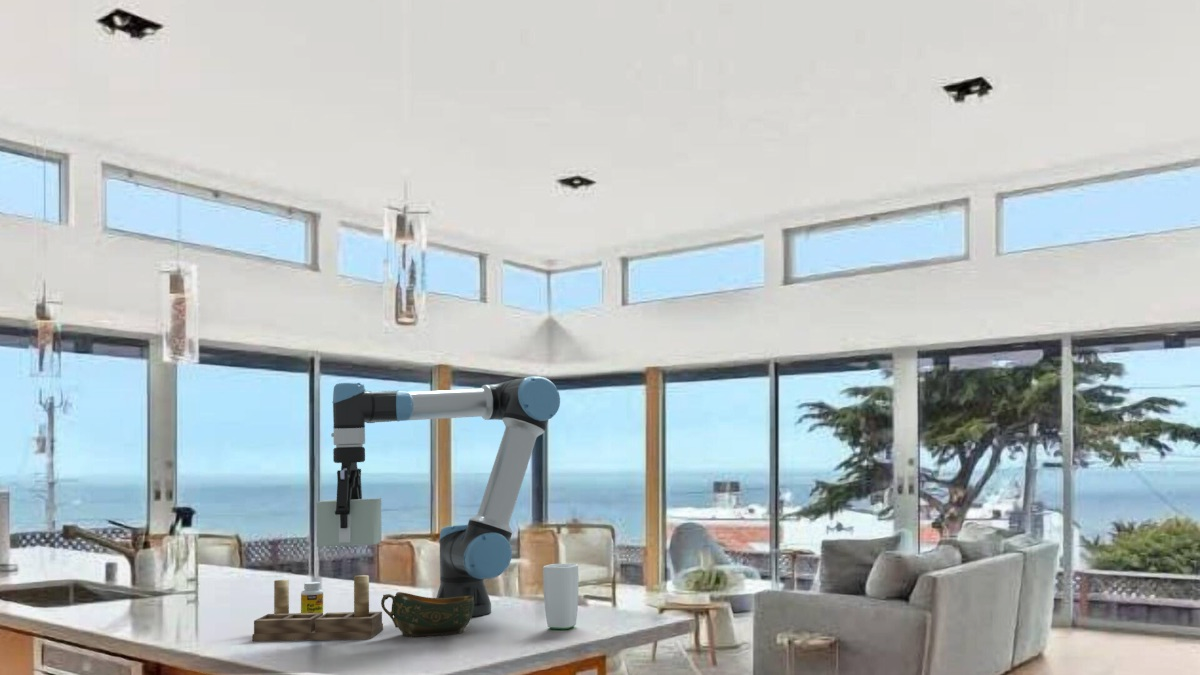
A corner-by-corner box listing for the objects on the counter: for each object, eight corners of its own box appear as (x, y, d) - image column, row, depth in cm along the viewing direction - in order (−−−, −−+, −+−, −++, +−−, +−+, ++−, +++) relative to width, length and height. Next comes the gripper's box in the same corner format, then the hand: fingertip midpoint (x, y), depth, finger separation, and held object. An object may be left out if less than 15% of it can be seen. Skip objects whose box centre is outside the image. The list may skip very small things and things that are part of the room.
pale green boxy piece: (381, 541, 265) (381, 498, 266) (373, 545, 256) (373, 500, 257) (326, 543, 265) (326, 499, 266) (316, 546, 257) (316, 502, 258)
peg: (290, 628, 270) (290, 579, 271) (286, 630, 266) (286, 581, 267) (276, 628, 270) (276, 579, 271) (272, 631, 266) (272, 581, 267)
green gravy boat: (399, 628, 265) (399, 586, 266) (477, 630, 261) (477, 587, 262) (378, 638, 253) (378, 594, 254) (460, 640, 249) (460, 595, 250)
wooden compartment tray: (382, 629, 264) (382, 572, 266) (371, 638, 252) (371, 578, 254) (269, 632, 265) (269, 575, 266) (252, 641, 253) (252, 581, 254)
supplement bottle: (304, 626, 273) (304, 584, 274) (297, 623, 277) (297, 582, 278) (326, 623, 276) (326, 582, 277) (319, 620, 280) (319, 580, 281)
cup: (581, 626, 262) (580, 564, 263) (569, 631, 255) (567, 567, 257) (554, 624, 265) (553, 563, 266) (541, 630, 258) (540, 566, 260)
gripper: (345, 446, 274) (345, 536, 272) (321, 447, 252) (322, 545, 250) (374, 445, 274) (375, 536, 271) (353, 446, 252) (354, 544, 250)
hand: (349, 540), depth 261 cm, fingers closed on pale green boxy piece, 9 cm apart
